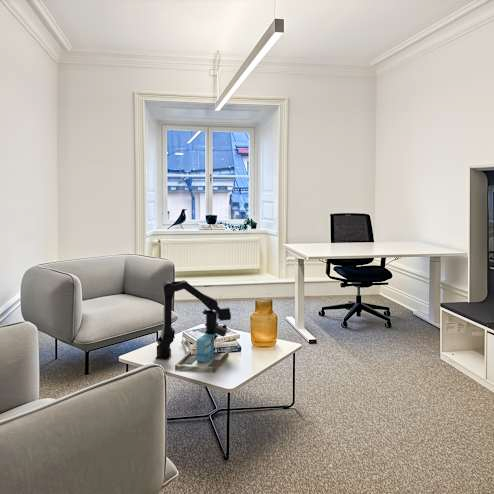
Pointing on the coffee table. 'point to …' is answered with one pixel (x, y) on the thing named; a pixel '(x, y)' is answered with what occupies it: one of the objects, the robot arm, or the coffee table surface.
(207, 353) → the data package
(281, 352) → the coffee table surface
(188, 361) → the trap pads
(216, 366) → the grey tray
